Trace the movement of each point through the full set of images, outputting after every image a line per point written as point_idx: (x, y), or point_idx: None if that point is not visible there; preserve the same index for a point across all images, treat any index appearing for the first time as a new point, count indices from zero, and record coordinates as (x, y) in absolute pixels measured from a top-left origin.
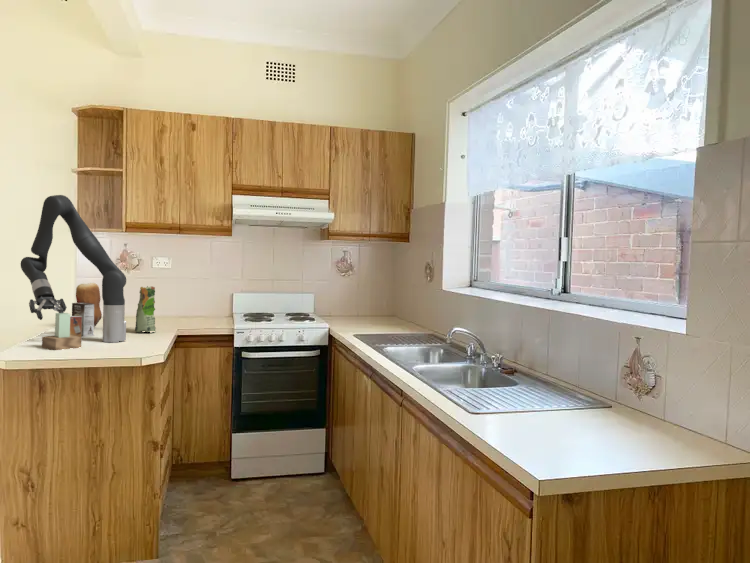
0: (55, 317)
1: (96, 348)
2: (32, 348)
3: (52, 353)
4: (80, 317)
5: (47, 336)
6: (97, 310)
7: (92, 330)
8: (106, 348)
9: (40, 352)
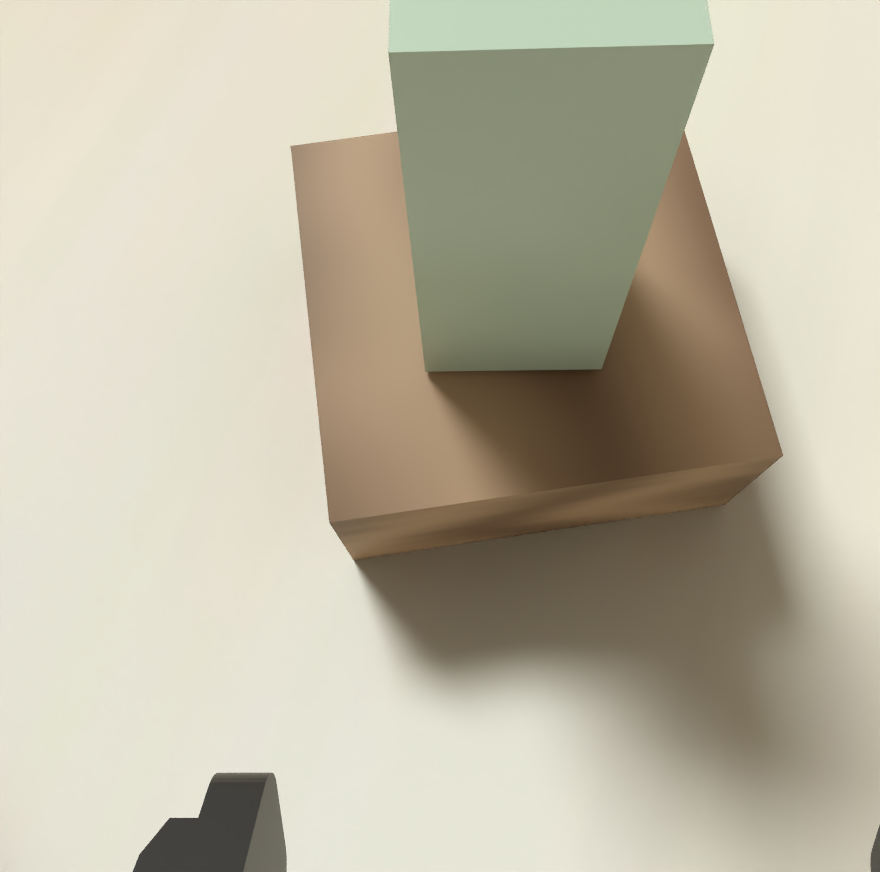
0: (680, 137)
1: (216, 98)
2: (854, 486)
3: (728, 18)
4: None
5: (696, 451)
6: None
7: None
8: (135, 48)
9: (824, 133)
